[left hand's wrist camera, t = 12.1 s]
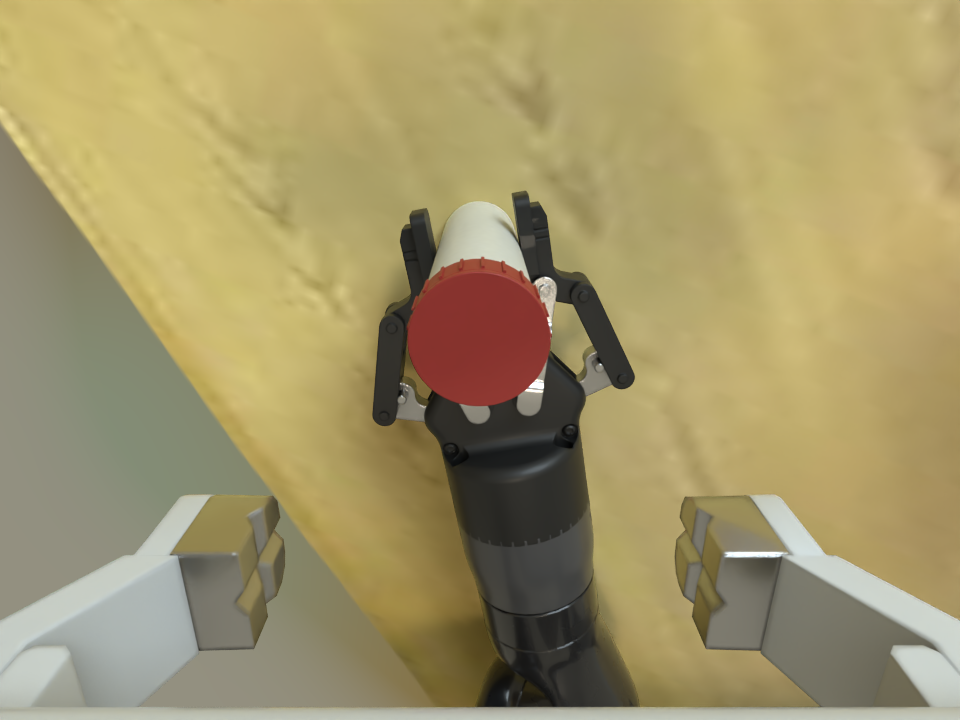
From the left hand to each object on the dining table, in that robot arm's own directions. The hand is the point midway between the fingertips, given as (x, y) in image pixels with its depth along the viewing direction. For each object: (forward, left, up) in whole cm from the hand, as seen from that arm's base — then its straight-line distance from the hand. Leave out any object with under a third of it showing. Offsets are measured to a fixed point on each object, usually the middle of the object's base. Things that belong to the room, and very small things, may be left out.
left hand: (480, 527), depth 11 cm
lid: (0, 0, -10) cm, 10 cm away
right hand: (-2, -2, -21) cm, 21 cm away
